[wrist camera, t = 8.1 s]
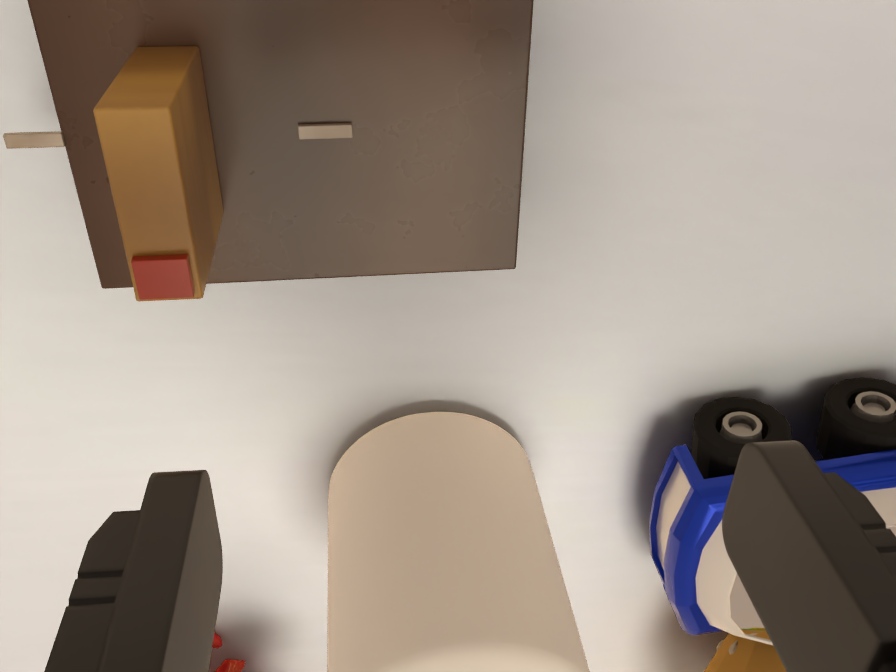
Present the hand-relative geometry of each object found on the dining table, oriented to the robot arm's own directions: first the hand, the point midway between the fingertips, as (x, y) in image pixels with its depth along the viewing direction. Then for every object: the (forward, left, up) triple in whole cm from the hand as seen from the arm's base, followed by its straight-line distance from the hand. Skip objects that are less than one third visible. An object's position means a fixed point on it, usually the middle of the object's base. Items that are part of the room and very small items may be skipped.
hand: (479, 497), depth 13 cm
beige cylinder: (-12, +8, -16) cm, 21 cm away
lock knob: (+4, +4, -12) cm, 14 cm away
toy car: (-21, -4, -16) cm, 27 cm away
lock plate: (+3, +2, -16) cm, 16 cm away
